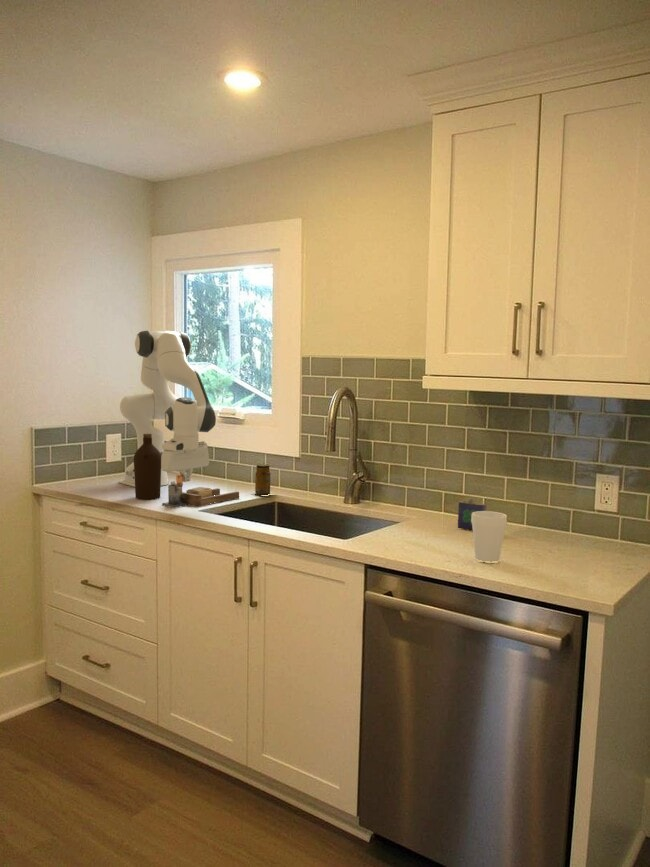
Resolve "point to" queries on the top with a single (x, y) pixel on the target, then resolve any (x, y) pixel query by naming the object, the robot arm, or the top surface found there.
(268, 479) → the condiment
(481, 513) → the foam cup
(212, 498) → the bay
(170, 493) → the grey cylinder
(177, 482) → the crank
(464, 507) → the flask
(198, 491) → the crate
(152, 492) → the olive oil
